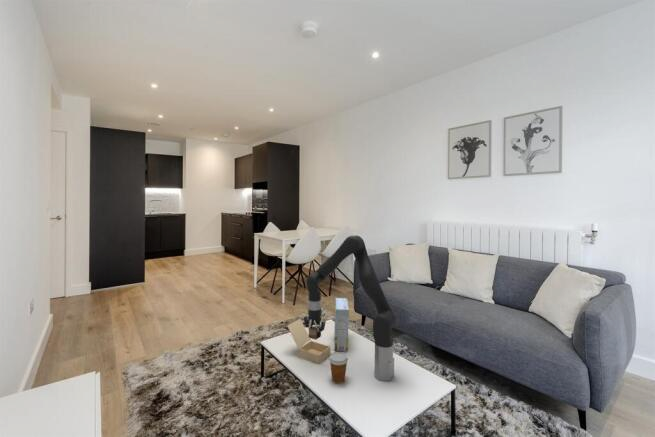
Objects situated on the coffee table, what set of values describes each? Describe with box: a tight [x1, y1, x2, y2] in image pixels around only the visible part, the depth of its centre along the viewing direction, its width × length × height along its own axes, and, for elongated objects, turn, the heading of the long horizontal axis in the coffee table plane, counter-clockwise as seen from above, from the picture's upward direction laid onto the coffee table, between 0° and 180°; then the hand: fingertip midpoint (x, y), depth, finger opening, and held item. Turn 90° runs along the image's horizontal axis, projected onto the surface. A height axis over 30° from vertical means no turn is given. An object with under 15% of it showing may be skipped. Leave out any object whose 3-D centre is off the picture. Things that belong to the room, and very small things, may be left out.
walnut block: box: [308, 325, 319, 341], centre depth 175 cm, size 5×5×5 cm
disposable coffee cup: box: [328, 351, 349, 384], centre depth 153 cm, size 10×10×12 cm
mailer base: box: [298, 340, 332, 365], centre depth 175 cm, size 14×12×5 cm
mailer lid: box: [286, 318, 312, 349], centre depth 181 cm, size 14×12×1 cm
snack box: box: [334, 297, 350, 352], centre depth 191 cm, size 22×9×26 cm, turn 179°
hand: (314, 336), depth 175 cm, fingers closed on walnut block, 5 cm apart
